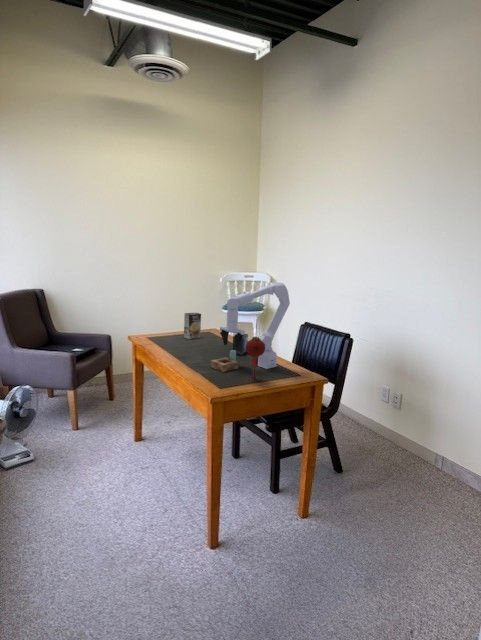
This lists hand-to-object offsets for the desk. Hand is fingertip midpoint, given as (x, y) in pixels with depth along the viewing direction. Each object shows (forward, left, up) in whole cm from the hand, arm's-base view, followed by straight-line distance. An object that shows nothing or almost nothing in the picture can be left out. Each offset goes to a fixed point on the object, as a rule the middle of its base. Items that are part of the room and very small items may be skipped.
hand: (231, 345), depth 222 cm
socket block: (-4, +8, -10) cm, 13 cm away
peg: (-1, 0, -10) cm, 10 cm away
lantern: (-25, +7, -10) cm, 27 cm away
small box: (+13, -18, -10) cm, 25 cm away
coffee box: (+58, -16, -10) cm, 61 cm away
